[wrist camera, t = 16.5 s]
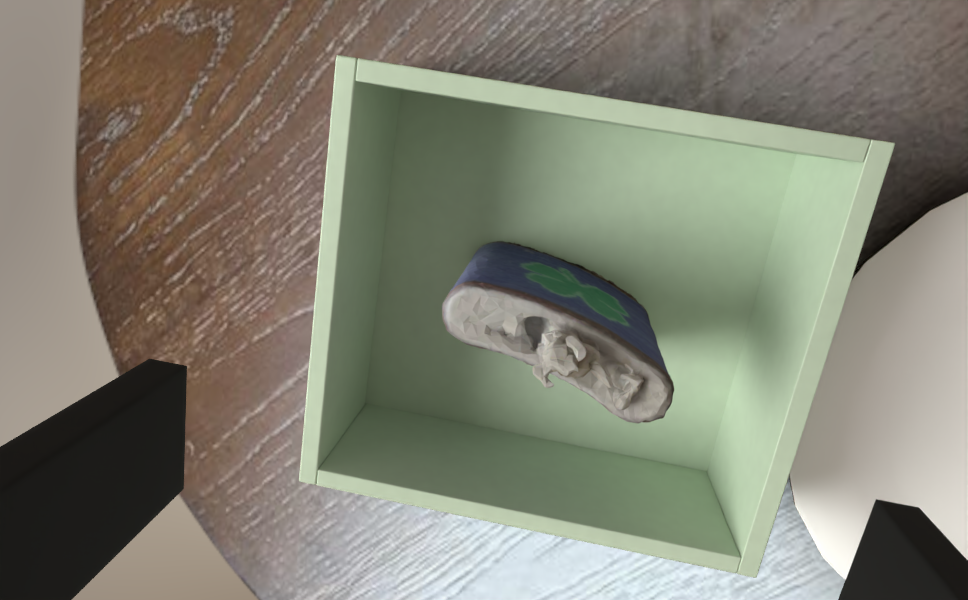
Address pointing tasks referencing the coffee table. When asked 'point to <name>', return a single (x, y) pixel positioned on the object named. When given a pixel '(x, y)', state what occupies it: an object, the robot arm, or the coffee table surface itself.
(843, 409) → the plate
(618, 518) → the tub
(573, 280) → the flask
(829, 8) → the coffee table surface
